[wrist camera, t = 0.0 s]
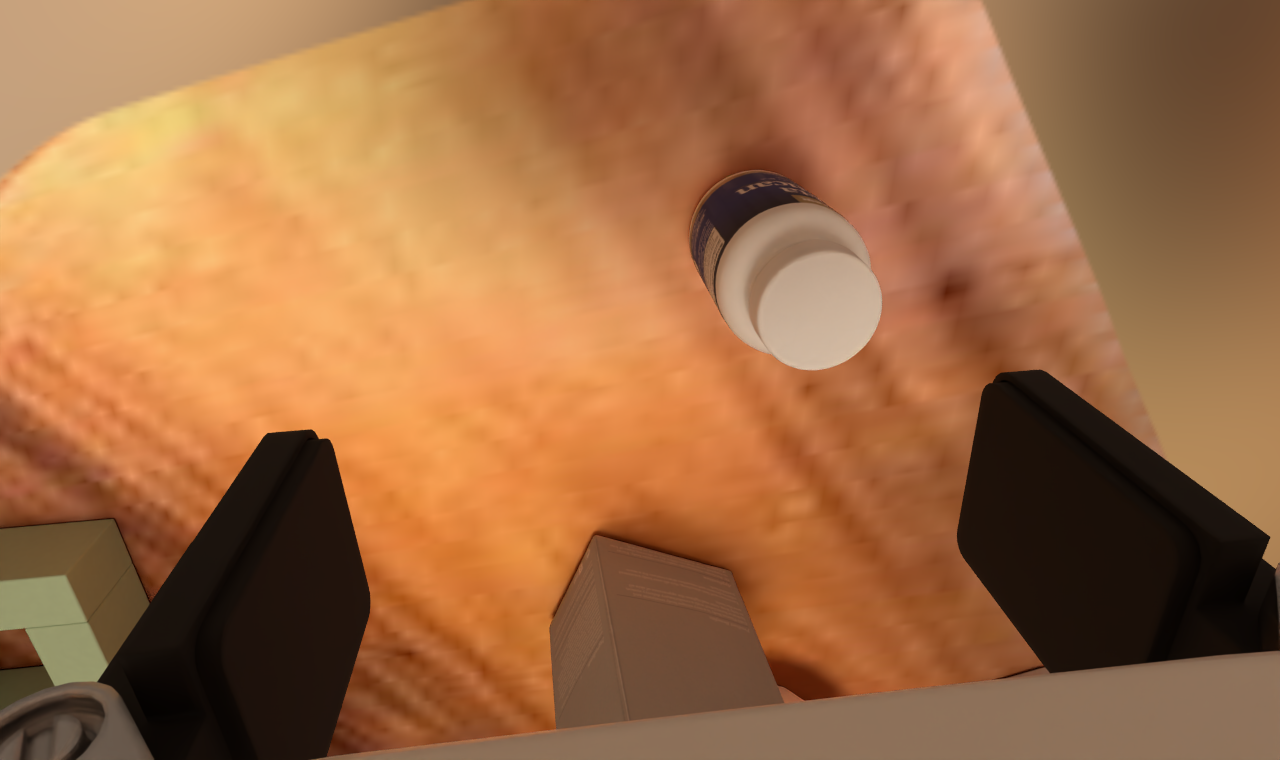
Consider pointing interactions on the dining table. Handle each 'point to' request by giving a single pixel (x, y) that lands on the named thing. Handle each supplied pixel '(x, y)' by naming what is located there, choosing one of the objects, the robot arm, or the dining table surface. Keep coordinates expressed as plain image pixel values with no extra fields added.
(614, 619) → the cosmetic box
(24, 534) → the holder
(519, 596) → the dining table surface
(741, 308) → the pill bottle
